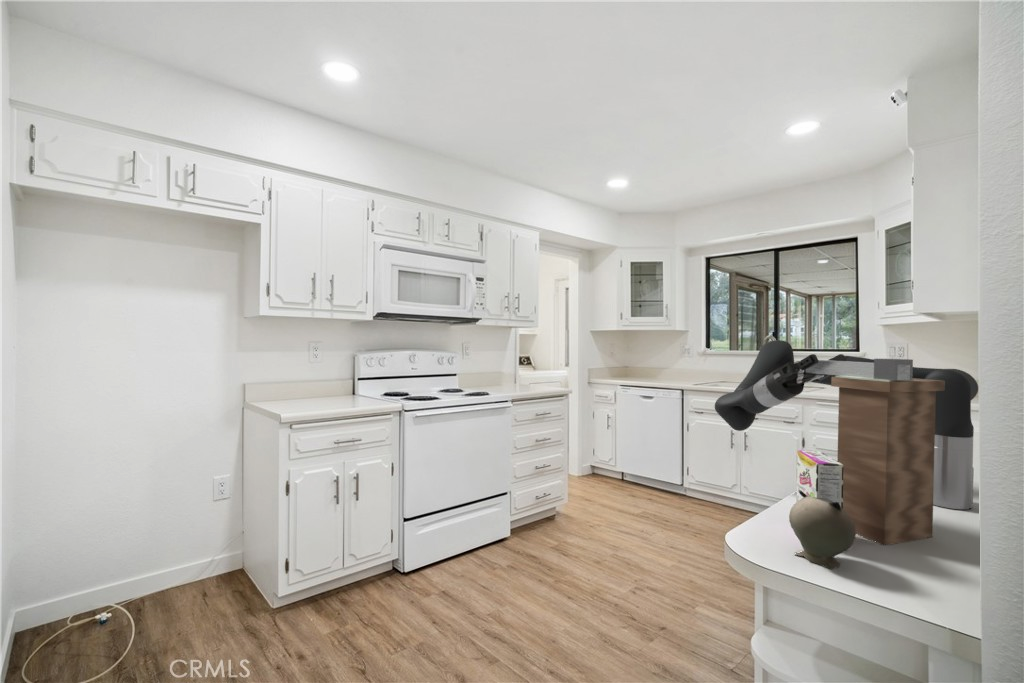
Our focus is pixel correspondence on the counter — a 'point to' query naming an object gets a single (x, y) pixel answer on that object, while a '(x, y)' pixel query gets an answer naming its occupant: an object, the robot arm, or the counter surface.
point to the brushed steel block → (867, 369)
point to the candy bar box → (819, 476)
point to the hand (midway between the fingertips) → (830, 357)
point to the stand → (888, 455)
